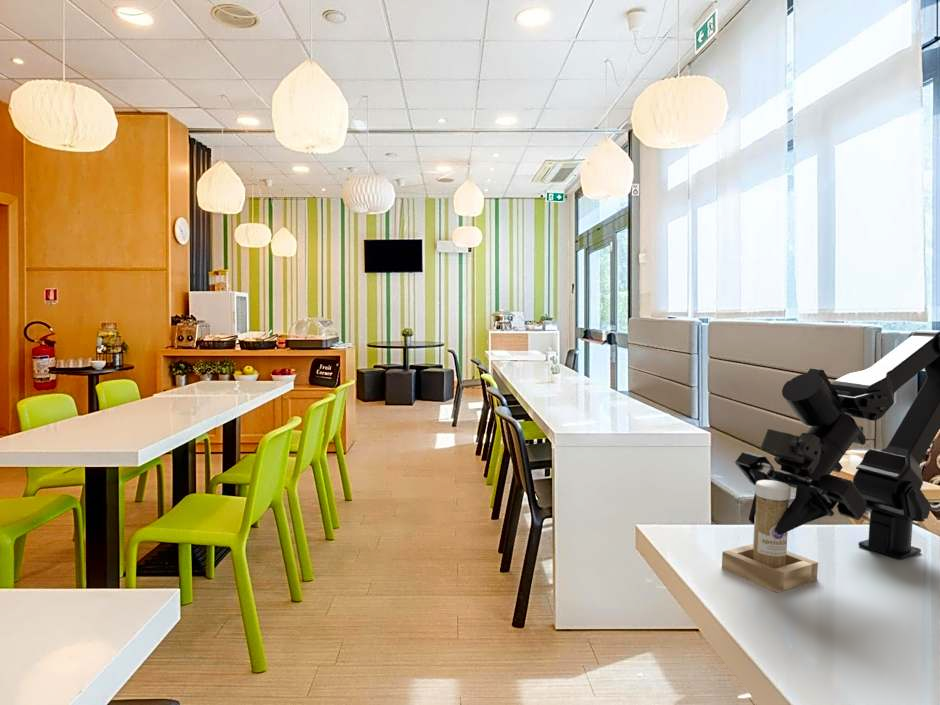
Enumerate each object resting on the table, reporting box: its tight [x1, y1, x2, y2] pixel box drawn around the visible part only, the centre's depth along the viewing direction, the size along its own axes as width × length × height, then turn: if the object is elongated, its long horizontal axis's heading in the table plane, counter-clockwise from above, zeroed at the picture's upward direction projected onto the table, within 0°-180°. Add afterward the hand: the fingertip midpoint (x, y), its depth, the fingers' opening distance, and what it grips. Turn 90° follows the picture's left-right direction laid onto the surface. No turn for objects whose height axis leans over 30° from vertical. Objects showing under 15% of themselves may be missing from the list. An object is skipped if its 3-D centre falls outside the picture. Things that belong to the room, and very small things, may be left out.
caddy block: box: [721, 543, 819, 593], centre depth 92 cm, size 9×9×2 cm
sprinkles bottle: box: [752, 480, 792, 569], centre depth 91 cm, size 5×5×14 cm
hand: (763, 527), depth 91 cm, fingers closed on sprinkles bottle, 4 cm apart
